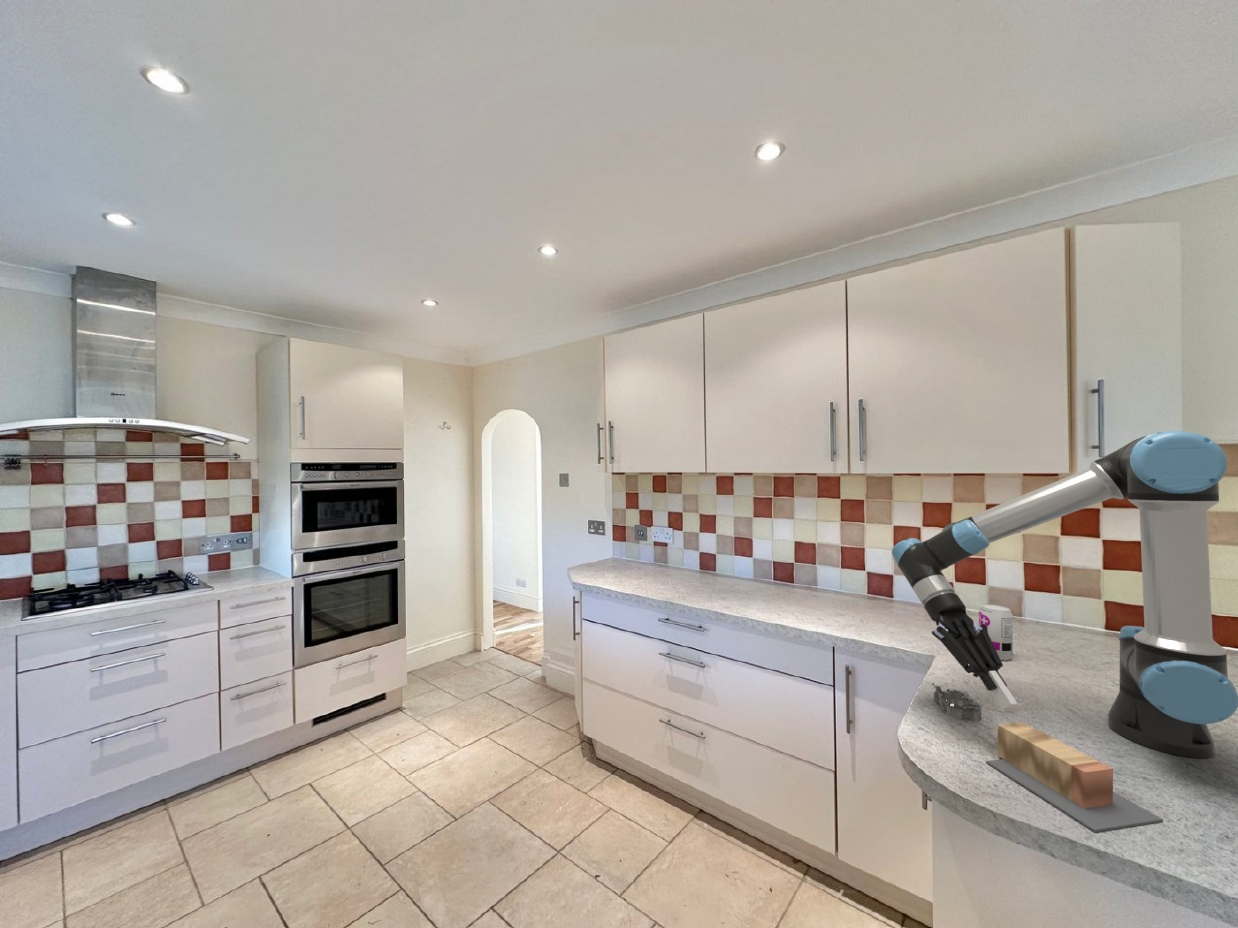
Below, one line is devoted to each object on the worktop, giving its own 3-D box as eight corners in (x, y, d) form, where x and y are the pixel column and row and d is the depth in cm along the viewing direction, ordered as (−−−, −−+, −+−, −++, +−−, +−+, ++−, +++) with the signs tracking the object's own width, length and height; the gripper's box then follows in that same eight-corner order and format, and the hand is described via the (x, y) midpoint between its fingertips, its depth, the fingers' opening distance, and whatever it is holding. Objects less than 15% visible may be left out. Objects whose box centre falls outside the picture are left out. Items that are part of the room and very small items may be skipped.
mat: (986, 762, 93) (986, 760, 93) (1044, 755, 95) (1044, 753, 95) (1094, 832, 75) (1094, 829, 75) (1162, 821, 78) (1162, 818, 78)
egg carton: (929, 697, 120) (929, 681, 120) (963, 701, 118) (963, 685, 119) (948, 719, 110) (948, 701, 110) (986, 723, 108) (986, 705, 108)
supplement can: (984, 659, 145) (984, 609, 145) (974, 649, 153) (975, 602, 153) (1017, 663, 142) (1017, 612, 143) (1005, 653, 150) (1006, 605, 150)
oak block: (997, 724, 95) (1084, 772, 80) (1022, 722, 96) (1113, 768, 81) (997, 755, 95) (1084, 808, 80) (1022, 752, 96) (1112, 804, 81)
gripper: (953, 606, 116) (1022, 710, 99) (906, 608, 113) (969, 715, 97) (973, 590, 111) (1050, 696, 94) (925, 591, 108) (995, 701, 92)
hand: (1009, 706), depth 96 cm, fingers closed
